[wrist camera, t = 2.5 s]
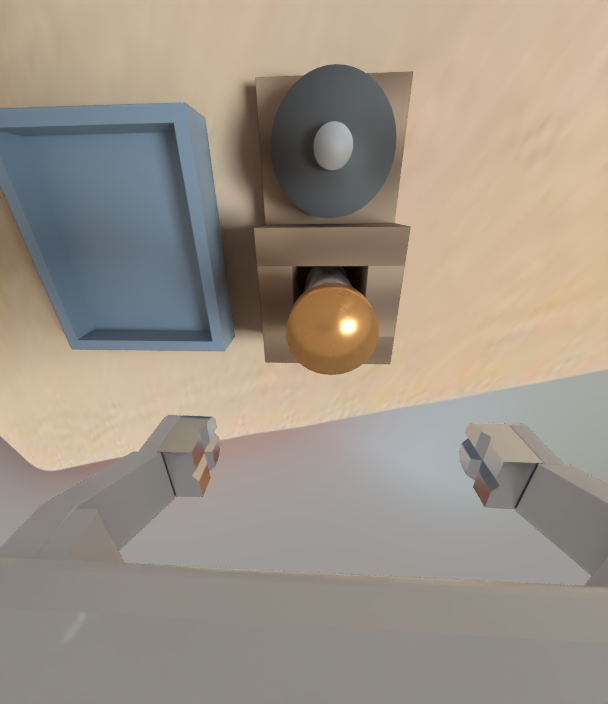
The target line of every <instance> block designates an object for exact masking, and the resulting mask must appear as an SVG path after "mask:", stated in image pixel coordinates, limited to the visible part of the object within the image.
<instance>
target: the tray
mask: <svg viewBox="0 0 608 704" xmlns="http://www.w3.org/2000/svg"><path fill="white" fill-rule="evenodd" d="M0 187H1V189H2V192H3V194H4V196H5V198H6V201H7V203H8V205H9V208H10V210H11V212H12V214H13V217H14V219H15V221H16V223H17V226H18V228H19V230H20V233H21V235H22V237H23V239H24V242H25V244H26V246H27V249H28V251H29V253H30V255H31V258H32V260H33V262H34V265H35V267H36V269H37V271H38V274H39V276H40V278H41V281H42V283H43V285H44V287H45V290H46V292H47V294H48V297H49V299H50V301H51V303H52V306H53V308H54V310H55V312H56V315H57V317H58V319H59V322H60V324H61V326H62V328H63V331H64V333H65V335H66V338H67V340H68V342H69V344H70V347H71V349H79V350H156V351H225V350H226V349H227V347H228V346H229V344H230V343H231V341H232V340H233V338H234V337H235V334H234V326H233V319H232V312H231V304H230V297H229V290H228V282H227V275H226V268H225V260H224V253H223V246H222V238H221V231H220V224H219V216H218V209H217V202H216V194H215V187H214V180H213V172H212V165H211V158H210V150H209V143H208V136H207V128H206V121H205V117H203V116H202V115H201V114H199V113H198V112H197V111H196V110H194V109H193V108H192V107H190V106H189V105H188V104H187V103H185V102H184V103H154V104H124V105H93V106H63V107H33V108H2V109H0Z"/></svg>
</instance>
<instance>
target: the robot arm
mask: <svg viewBox="0 0 608 704" xmlns="http://www.w3.org/2000/svg"><path fill="white" fill-rule="evenodd" d="M216 427H217V425H216V421H215V418H213V417H203V416H176V415H168V416H166V417H164V419H163V420H162V421H161V423H160V424H159V425H158V426H157V428H156V429H155V430H154V432H153V433H152V434H151V436H150V437H149V438H148V440H147V441H146V442H145V443H144V445H143V446H142V447H141V449H140V450H139V451H138V452H132V453H130V454H128V455H127V456H125V457H123V458H122V459H120V460H118V461H116V462H115V463H113V464H111V465H109V466H108V467H106V468H104V469H103V470H101V471H99V472H97V473H96V474H94V475H92V476H90V477H89V478H87V479H85V480H83V481H82V482H80V483H78V484H77V485H75V486H73V487H71V488H70V489H68V490H66V491H64V492H63V493H61V494H59V495H58V496H56V497H54V498H52V499H51V500H49V501H47V502H45V503H44V504H42V505H40V507H39V508H38V509H37V510H36V511H35V512H34V513H33V514H32V515H31V516H30V517H29V518H28V519H27V520H26V521H25V522H24V523H23V524H22V525H21V526H20V527H19V529H18V530H17V531H16V532H15V533H14V534H13V535H12V536H11V537H10V538H9V539H8V540H7V541H6V542H5V543H4V544H3V545H2V546H1V547H0V704H608V484H606V483H604V482H602V481H601V480H599V479H597V478H595V477H593V476H591V475H589V474H587V473H585V472H583V471H582V470H580V469H578V468H576V467H574V466H572V465H567V464H564V463H563V462H562V461H561V460H560V459H559V458H558V457H557V456H556V455H555V454H554V453H553V452H552V451H551V450H550V449H549V448H548V447H547V446H546V445H545V444H544V443H543V442H542V441H541V440H540V439H539V438H538V437H537V436H536V435H535V434H534V433H533V432H532V431H531V430H530V429H529V428H528V427H527V426H526V425H524V424H522V423H504V424H502V423H470V424H469V425H468V426H467V428H466V432H465V433H466V435H467V437H468V439H467V440H465V441H464V442H463V443H462V444H461V448H460V451H459V452H460V462H461V465H462V468H463V470H464V471H465V473H466V475H468V476H469V477H470V478H472V479H473V480H475V482H474V485H473V488H474V489H475V491H476V493H477V494H478V496H479V498H480V500H481V502H482V503H483V505H484V507H489V508H505V509H516V512H517V513H519V514H520V515H521V516H522V517H523V518H524V519H526V520H527V521H528V522H529V523H530V524H532V525H533V526H534V527H535V528H537V530H539V531H540V532H541V533H542V534H543V535H544V536H546V537H547V538H548V539H549V540H550V541H551V542H553V543H554V544H555V545H556V546H557V547H558V548H560V549H561V550H562V551H563V552H564V553H565V554H567V555H568V556H569V557H570V558H571V559H572V560H574V561H575V562H576V563H577V564H578V565H579V566H581V567H582V568H583V569H584V570H585V571H586V572H588V573H589V574H590V575H591V578H590V579H589V580H588V581H587V583H586V584H585V585H584V586H579V585H559V584H558V585H557V584H538V583H519V582H499V581H498V582H497V581H476V580H457V579H436V578H417V577H397V576H376V575H356V574H336V573H315V572H295V571H275V570H255V569H254V570H253V569H234V568H214V567H195V566H174V565H154V564H134V563H125V562H124V560H123V558H122V556H121V555H120V553H119V550H120V549H121V548H123V547H124V546H125V545H126V544H127V543H128V542H129V541H130V540H131V539H132V538H133V537H134V536H135V535H136V534H138V533H139V532H140V531H141V530H142V529H143V528H144V527H145V526H146V525H147V524H148V523H149V522H150V521H151V520H152V519H154V518H155V517H156V516H157V515H158V514H159V513H160V512H161V511H162V510H163V509H164V508H165V507H166V506H167V505H168V504H170V503H171V502H172V501H173V500H174V499H175V496H176V497H178V496H179V497H181V496H182V497H203V495H204V493H205V490H206V488H207V485H208V483H209V481H210V473H209V471H210V470H211V469H213V468H214V467H215V466H216V463H217V461H218V457H219V452H220V441H219V437H218V436H217V435H216V434H215V433H214V432H215V430H216Z"/></svg>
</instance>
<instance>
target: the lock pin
mask: <svg viewBox="0 0 608 704" xmlns="http://www.w3.org/2000/svg"><path fill="white" fill-rule="evenodd" d="M378 337H379V325H378V321H377V318H376V315H375V313H374V311H373V309H372V307H371V305H370V303H369V302H368V300H367V299H366V298H365V296H364V295H363V294H361V293H360V292H359V291H358V290H356V289H355V288H353V287H352V286H351V283H350V281H349V278H348V276H347V273H346V272H345V270H344V269H343V268H342V267H341V266H314V267H313V268H312V269H311V270H310V272H309V273H308V275H307V278H306V284H305V289H304V293H303V294H302V295H301V296H300V297H299V298H298V299H297V300H296V302H295V303H294V305H293V307H292V309H291V312H290V315H289V318H288V322H287V327H286V340H287V344H288V347H289V349H290V351H291V353H292V355H293V356H294V358H295V359H296V360H297V361H298V362H299V363H300V364H301V365H303V366H304V367H306V368H307V369H309V370H311V371H314V372H317V373H320V374H327V375H336V374H342V373H346V372H349V371H352V370H354V369H356V368H357V367H359V366H360V365H362V364H363V363H364V362H365V361H366V360H367V359H368V358H369V357H370V356H371V354H372V353H373V351H374V349H375V347H376V345H377V342H378Z"/></svg>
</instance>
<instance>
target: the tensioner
mask: <svg viewBox="0 0 608 704" xmlns="http://www.w3.org/2000/svg"><path fill="white" fill-rule="evenodd" d="M412 77H413V72H388V73H365V72H363V71H361V70H359V69H357V68H354V67H351V66H347V65H338V64H334V65H326V66H323V67H319V68H316V69H314V70H312V71H310V72H308V73H307V74H306V75H304V76H280V77H255V79H256V94H257V109H258V123H259V138H260V153H261V167H262V182H263V197H264V211H265V225H262V226H259V227H256V228H254V235H255V247H256V258H257V270H258V282H259V293H260V305H261V317H262V328H263V340H264V352H265V362H274V363H299V362H298V361H297V360H296V359H295V358H294V356H293V355H292V353H291V351H290V349H289V347H288V344H287V340H286V327H287V322H288V318H289V315H290V312H291V309H292V307H293V305H294V303H295V302H296V300H297V299H298V298H299V285H298V266H357V277H356V290H358V291H359V292H360V293H361V294H363V295H364V296H365V298H366V299H367V300H368V302H369V303H370V305H371V307H372V309H373V311H374V313H375V315H376V318H377V321H378V325H379V337H378V342H377V345H376V347H375V349H374V351H373V353H372V354H371V356H370V357H369V358H368V359H367V360H366V361H365V362H364V363H363V364H390V362H391V355H392V348H393V342H394V335H395V328H396V321H397V315H398V308H399V301H400V294H401V288H402V281H403V274H404V267H405V261H406V254H407V247H408V240H409V234H410V226H405V225H400V224H396V223H395V215H396V207H397V198H398V190H399V182H400V174H401V166H402V158H403V150H404V142H405V134H406V126H407V118H408V110H409V101H410V93H411V85H412Z"/></svg>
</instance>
